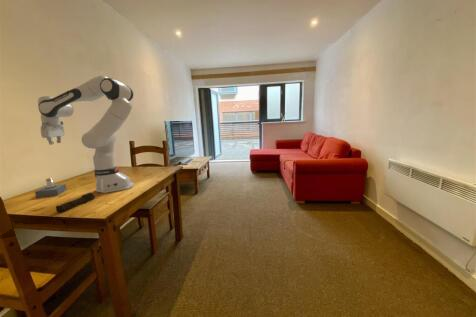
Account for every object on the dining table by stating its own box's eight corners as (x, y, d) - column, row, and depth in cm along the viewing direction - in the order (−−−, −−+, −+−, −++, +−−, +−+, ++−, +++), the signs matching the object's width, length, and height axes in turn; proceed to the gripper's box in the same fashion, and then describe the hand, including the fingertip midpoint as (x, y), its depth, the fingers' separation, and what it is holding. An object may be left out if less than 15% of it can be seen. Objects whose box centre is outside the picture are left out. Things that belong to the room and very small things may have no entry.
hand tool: (61, 213, 101) (59, 205, 100) (56, 212, 103) (54, 204, 102) (98, 199, 119) (96, 192, 118) (93, 198, 120) (91, 191, 119)
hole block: (66, 189, 138) (65, 184, 137) (58, 195, 128) (56, 189, 127) (46, 191, 135) (45, 186, 134) (36, 197, 125) (34, 191, 124)
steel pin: (56, 192, 133) (53, 177, 131) (53, 194, 130) (50, 179, 128) (50, 193, 132) (47, 178, 130) (48, 194, 130) (44, 179, 128)
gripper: (47, 122, 124) (52, 145, 126) (64, 122, 143) (68, 141, 145) (35, 122, 122) (40, 145, 124) (53, 122, 141) (57, 142, 144)
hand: (55, 143), depth 135 cm, fingers open, 8 cm apart
